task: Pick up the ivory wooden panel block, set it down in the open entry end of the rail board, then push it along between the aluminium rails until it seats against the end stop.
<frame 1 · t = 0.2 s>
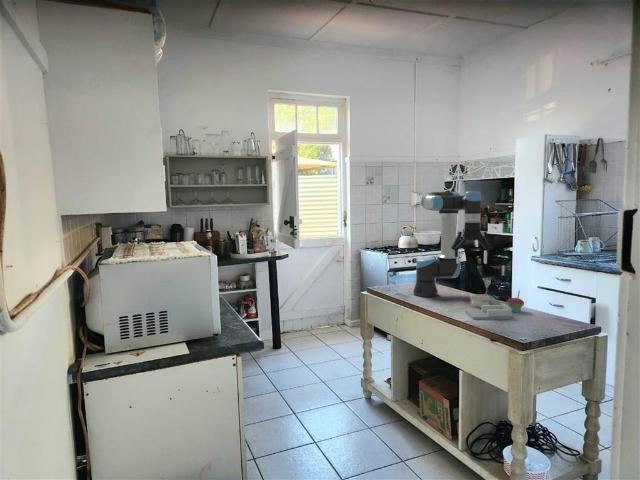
hand: (471, 263, 213), 27 cm above the countertop, fingers open, 13 cm apart
cupcake: (514, 311, 224), on the countertop
panel block: (479, 305, 236), on the countertop
rail board: (488, 315, 216), on the countertop
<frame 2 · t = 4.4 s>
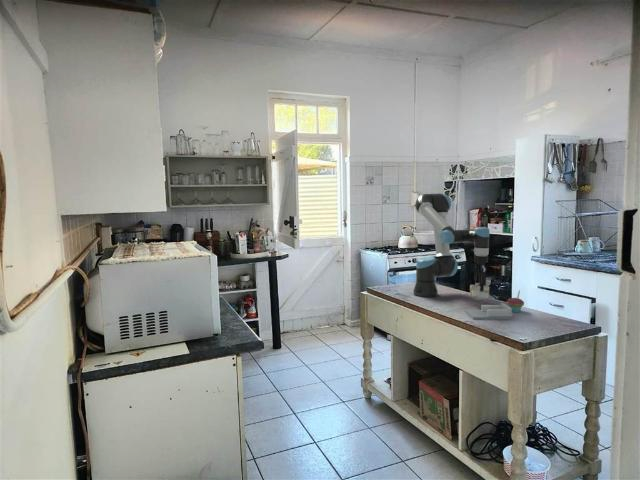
hand: (479, 295, 236), 6 cm above the countertop, fingers closed on panel block, 5 cm apart
panel block: (479, 296, 236), point 5 cm above the countertop, touching gripper
everything else where it was.
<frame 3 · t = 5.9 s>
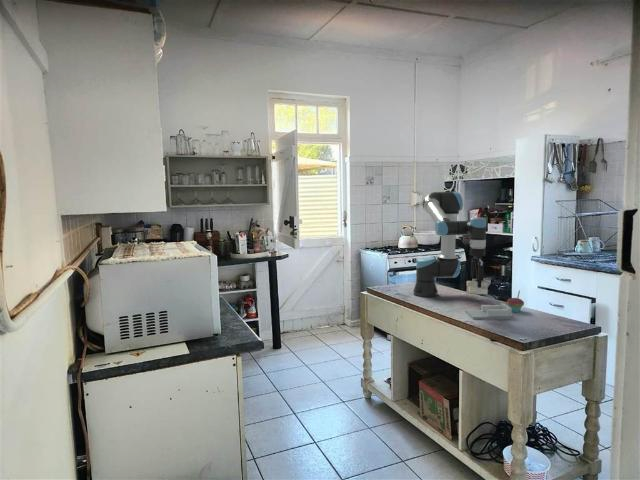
hand: (476, 292, 215), 12 cm above the countertop, fingers closed on panel block, 5 cm apart
panel block: (476, 293, 215), point 12 cm above the countertop, touching gripper
everything else where it was.
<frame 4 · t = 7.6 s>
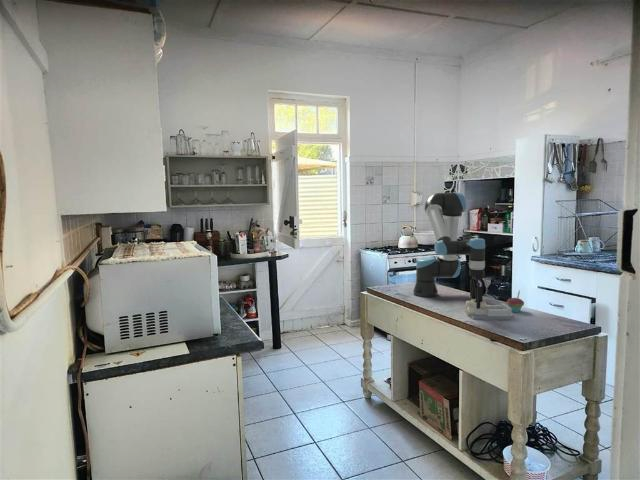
hand: (475, 312, 216), 1 cm above the countertop, fingers closed on panel block, 5 cm apart
panel block: (476, 313, 216), point 1 cm above the countertop, touching gripper, rail board
everything else where it was.
when the fingers open (1 cm above the countertop, at t = 7.6 s): panel block stays where it is, resting on rail board.
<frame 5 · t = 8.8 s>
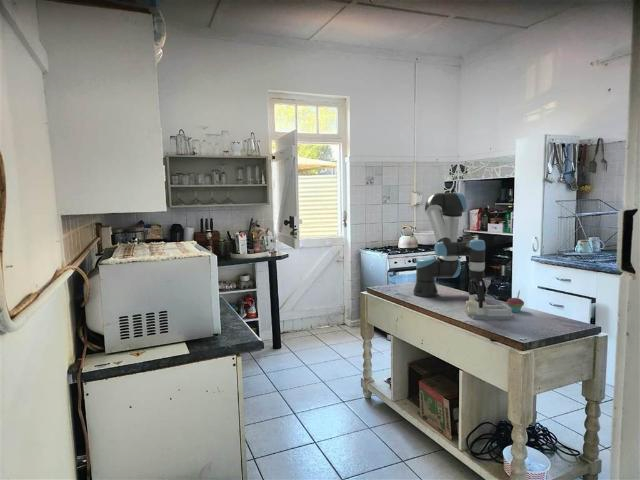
hand: (475, 310, 216), 3 cm above the countertop, fingers open, 13 cm apart
panel block: (476, 313, 216), point 1 cm above the countertop, touching rail board
everything else where it was.
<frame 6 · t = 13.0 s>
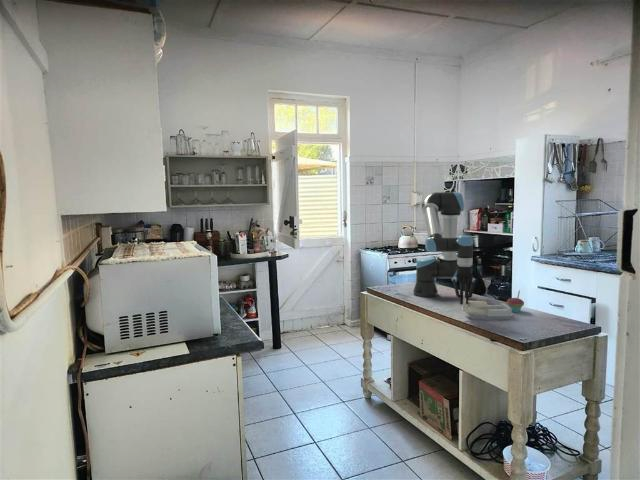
hand: (463, 310, 216), 3 cm above the countertop, fingers closed
panel block: (476, 313, 216), point 1 cm above the countertop, touching gripper
everything else where it was.
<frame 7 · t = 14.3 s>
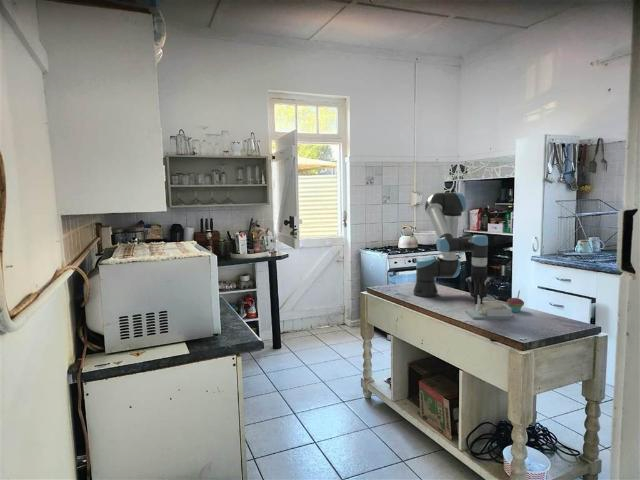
hand: (478, 310, 216), 3 cm above the countertop, fingers closed
panel block: (491, 313, 215), point 1 cm above the countertop, touching gripper, rail board
everything else where it was.
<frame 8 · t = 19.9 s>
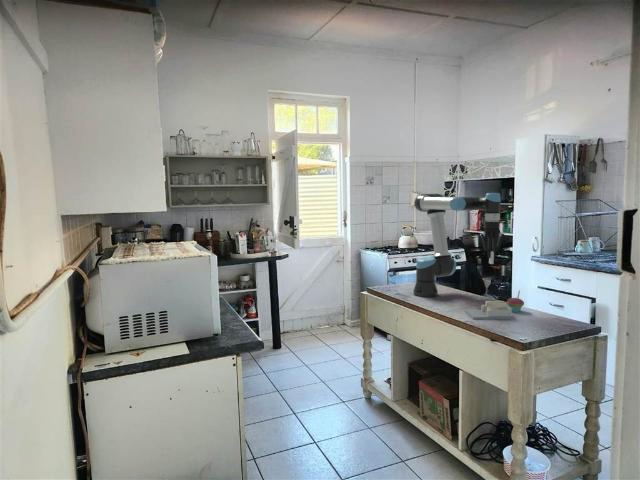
hand: (491, 263, 231), 24 cm above the countertop, fingers closed
panel block: (495, 313, 215), point 1 cm above the countertop, touching rail board
everything else where it was.
at the end: panel block 0.8 cm from the target spot on the rail board, point 1.2 cm above the rail board's base; panel block tilted 0° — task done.
